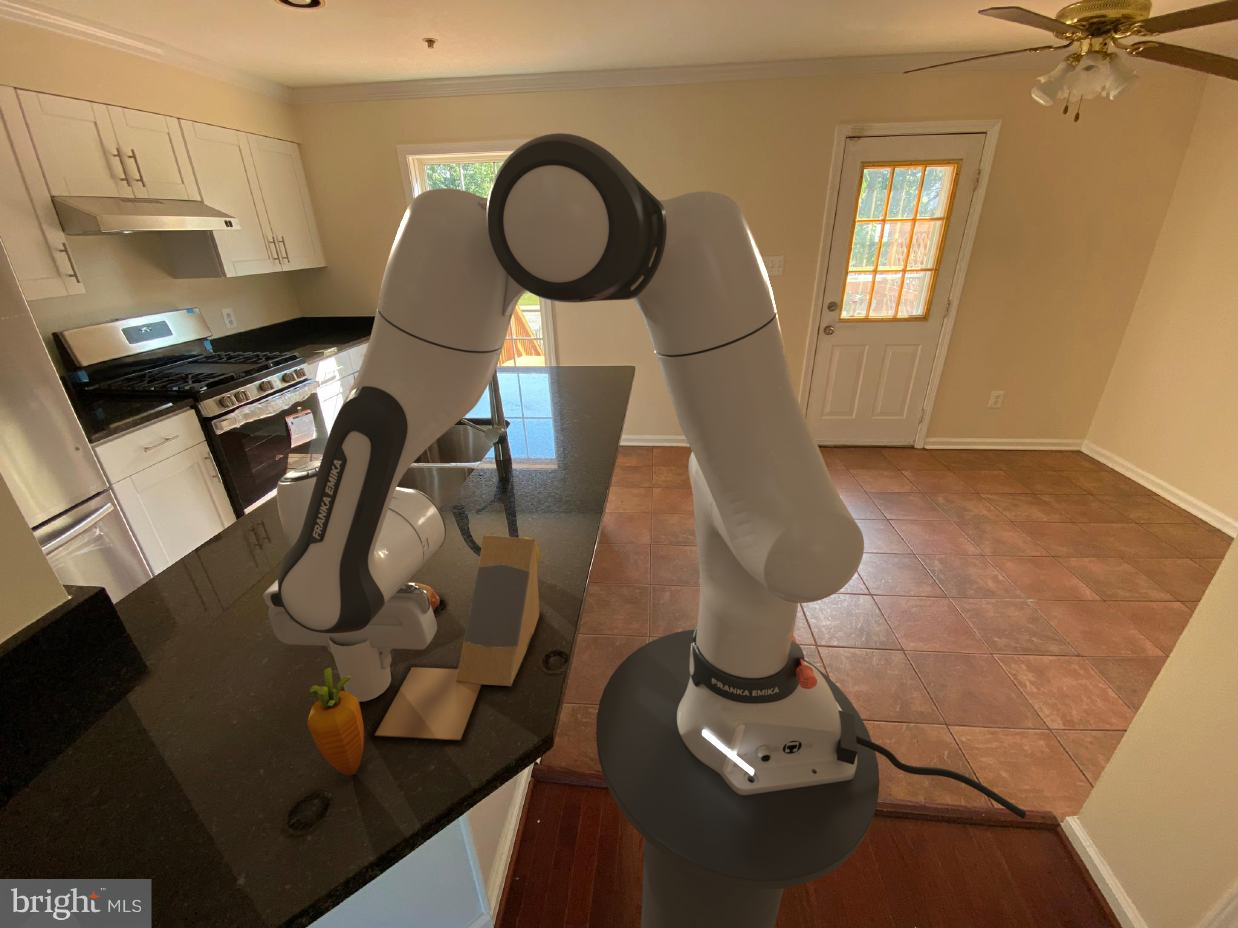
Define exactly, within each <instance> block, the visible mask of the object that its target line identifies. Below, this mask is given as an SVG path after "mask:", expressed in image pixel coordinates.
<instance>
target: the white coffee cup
mask: <svg viewBox="0 0 1238 928" xmlns="http://www.w3.org/2000/svg"><path fill="white" fill-rule="evenodd" d="M328 641H329V645H330V648H331V651H332V653H331V655H332V656H333V660H334V663H335V665H336V669H337V671H338V675H339V677H340V681H341V680H342V679H343V678H344V677H346V676H347V675H348V676H350V677H351V679H349V680H348V681H347V682H346V683H345V684H344V685H343V687H342V688H343V691H347V692H348V693H350V694H352V695H353V696H355V697H356V698H357V699H358V702H359V703H360V702H367V701H370V700H373V699H376V698H377V697H379V696H380V695H382V694H383V693H385V692H386V690H387V689H388V688H389V687H390V685H391V682H392V675H391V667H390V666H391V665H389V667H388V669H386V670H385V669H381V663H380V657H381V655H382V653H383V651H382V652H378V648H371V646H370V640H367V641H365V642H363V643H360V644H357V645H354V646H339V645H336V644H334V643H333V642H332V641H330V638H329V637H328Z"/></svg>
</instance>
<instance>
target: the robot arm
mask: <svg viewBox="0 0 1238 928" xmlns="http://www.w3.org/2000/svg"><path fill="white" fill-rule="evenodd" d="M526 292H528V293H530V294H532V295H534V296H536V297H538V298H541V299H544V300H547V301H552V302H558V303H571V304H572V303H573V304H574V303H590V302H601V301H603V302H604V301H627V300H628V301H629V300H633V301H634V302H635V303H636V306H637V307H638V309H639V311H640V313H641V316H642V317H643V320H644V322H645V325H646V329H647V331H648V334H649V338H650V340H651V342H652V347H653V349H654V353H655V356H656V359H657V362H658V364H659V367H660V371H661V374H662V377H663V379H664V382H665V385H666V389H667V391H668V394H669V397H670V401H671V403H672V406H673V409H674V412H675V415H676V417H677V421H678V425H679V427H680V429H681V431H682V433H683V435H684V437H685V439H686V441H687V443H688V445H689V447H690V450H691V454H690V456H689V460H688V467H687V469H688V477H689V481H690V486H691V492H692V500H693V511H694V530H695V531H694V532H695V541H696V551H697V559H698V560H697V561H698V570H699V571H698V573H699V600H698V612H697V613H698V614H697V625H696V627H695V628H694V630H695V631H694V634H693V640H692V644H691V651H690V665H689V669H690V674H691V676H690V680H689V683H688V686H687V689H686V692H685V694H684V696H683V698H682V700H681V702H680V704H679V707H678V710H677V725H678V729H679V733H680V735H681V737H682V739H683V741H684V743H685V745H686V746H687V747H688V749H689V750H690V751H691V752H692V753H693V754H694V756H696V757H697V758H698V759H699V760H700V761H701V762H703V763H704V764H706V765H707V766H709V767H710V768H712V769H713V770H715V771H716V772H718V773H719V774H720V775H721V776H722V778H723V779H724V780H725V782H726V783H727V784H728V785H729V786H730V788H731V789H732V790H733V791H735V792H736V793H737V794H739V795H751V794H758V793H765V792H772V791H779V790H786V789H793V788H800V787H806V786H813V785H820V784H827V783H834V782H841V781H847V780H851V779H853V778H854V776H855V773H856V768H857V743H858V744H860V745H862V746H865V747H867V748H870V749H872V750H874V751H875V753H878V754H880V755H881V756H883V757H885V758H886V759H887V760H888V761H889V762H890V763H891V765H892V766H893V767H895V768H896V769H898V770H900V771H902V772H905V773H908V774H911V775H916V776H933V777H934V776H935V777H942V778H943V777H944V778H948V779H951V780H955V781H957V782H959V783H962V784H964V785H967V786H969V787H971V788H972V789H974V790H976V791H977V792H979V793H981V794H983V795H984V796H986V797H988V798H989V799H991V800H992V801H994V802H995V803H997V804H999V805H1000V806H1001V807H1003V808H1005V809H1006V810H1008V811H1009V812H1011V813H1013V814H1014V815H1016V816H1017V817H1019V818H1021V819H1022V820H1025V818H1026V816H1027V811H1025V810H1024V809H1023V808H1020V807H1019V806H1017V805H1016V804H1014V803H1012V802H1011V801H1009V800H1008V799H1006V798H1004V797H1003V796H1002V795H1000V794H998V793H997V792H996V791H994V790H992V789H990V788H989V787H987V786H986V785H984V784H982V783H980V782H979V781H977V780H975V779H973V778H970V777H969V776H967V775H964V774H962V773H960V772H957V771H954V770H951V769H947V768H942V767H932V766H915V765H909V764H906V763H903V762H901V761H900V760H899V759H898V758H897V756H895V755H894V753H892V752H891V751H890V750H888V749H887V748H885V747H884V746H882V745H880V744H878V743H876V742H873V741H872V742H871V741H869V740H866V739H864V738H861V737H859V736H857V735H856V730H855V719H854V714H851V713H847V712H844V711H842V710H841V708H840V706H839V705H838V703H837V702H836V700H835V698H834V696H833V694H832V692H831V689H830V688H829V686H828V684H827V682H826V681H825V679H824V678H823V676H822V675H821V674H820V673H819V671H818V670H817V669H815V668H814V667H813V666H811V665H809V664H807V663H806V662H804V659H805V654H804V651H803V649H802V647H801V645H799V644H798V642H797V640H796V636H795V635H794V631H795V626H796V622H797V616H798V612H799V611H798V610H799V604H809V603H815V602H818V601H822V600H824V599H827V598H829V597H832V596H833V595H835V594H837V593H838V592H839V591H841V590H842V589H843V588H844V587H846V586H847V585H848V583H849V582H850V581H851V580H852V579H853V578H854V576H855V575H856V573H857V572H858V570H859V568H860V565H861V562H862V560H863V557H864V552H865V539H864V535H863V532H862V530H861V528H860V527H859V524H858V523H857V522H856V520H855V519H854V517H853V515H852V514H851V512H850V510H848V507H847V506H846V504H845V502H844V500H843V499H842V497H841V495H840V494H839V492H838V490H837V487H836V485H835V483H834V481H833V479H832V476H831V474H830V471H829V469H828V467H827V465H826V461H825V459H824V457H823V454H822V453H821V450H820V447H819V445H818V443H817V441H816V439H815V436H814V434H813V432H812V430H811V427H810V424H809V423H808V421H807V419H806V416H805V414H804V412H803V409H802V407H801V405H800V402H799V399H798V396H797V392H796V390H795V387H794V384H793V379H792V375H791V370H790V369H791V368H790V365H789V361H788V356H787V352H786V347H785V344H784V343H785V342H784V338H783V334H782V330H781V325H780V321H779V316H778V311H777V306H776V303H775V298H774V293H773V289H772V287H771V283H770V280H769V276H768V272H767V269H766V266H765V263H764V260H763V257H762V255H761V251H760V249H759V246H758V244H757V242H756V239H755V237H754V234H753V232H752V229H751V227H750V224H749V223H748V221H747V218H746V216H745V213H744V212H743V210H742V209H741V207H740V206H739V204H738V203H737V202H736V201H735V200H734V199H733V198H732V197H729V196H728V195H726V194H723V193H720V192H715V191H705V190H701V191H691V192H687V193H683V194H681V195H677V196H674V197H672V198H668V199H658V198H656V196H654V194H653V193H652V192H651V191H650V190H649V189H647V188H646V186H645V185H644V184H642V182H640V181H639V180H638V179H637V178H636V177H635V176H634V175H633V174H632V172H630V170H629V169H628V168H627V167H626V166H625V165H624V163H623V162H622V161H621V160H620V159H619V158H618V157H617V156H616V155H615V154H613V153H612V152H610V151H609V150H608V149H606V148H605V147H604V146H602V145H600V144H598V143H596V142H594V141H592V140H590V139H588V138H586V137H583V136H580V135H577V134H572V133H565V132H564V133H563V132H561V133H559V132H557V133H550V134H549V133H548V134H544V135H540V136H537V137H535V138H533V139H530V140H528V141H526V142H525V143H523V144H522V145H520V146H518V147H517V148H516V149H515V150H513V152H511V153H510V154H509V156H507V158H506V159H505V160H504V161H503V163H502V164H501V166H500V167H499V169H498V170H497V172H496V174H495V175H494V178H493V180H492V182H491V185H490V189H489V192H488V195H487V197H484V196H480V195H479V194H476V193H473V192H472V191H471V192H470V191H467V190H463V189H459V188H453V187H452V188H451V187H439V188H433V189H428V190H424V191H423V192H421V193H419V194H418V195H417V196H416V197H414V198H413V199H412V200H411V201H410V203H409V205H407V208H406V211H405V213H404V215H403V218H402V220H401V222H400V225H399V227H398V229H397V232H396V236H395V238H394V240H393V243H392V246H391V249H390V253H389V255H388V259H387V262H386V266H385V269H384V273H383V277H382V281H381V285H380V290H379V295H378V300H377V307H376V311H375V317H374V321H373V325H372V329H371V334H370V337H369V341H368V344H367V346H366V350H365V353H364V356H363V359H362V362H361V364H360V367H359V369H358V372H357V374H356V377H355V379H354V381H353V383H352V385H351V387H350V389H349V391H348V394H347V395H346V397H345V399H344V400H343V403H342V404H341V407H340V409H339V410H338V413H337V414H336V417H335V419H334V421H333V424H332V427H331V429H330V432H329V435H328V437H327V440H326V444H325V447H324V451H323V453H322V457H321V458H320V459H316V460H314V461H310V462H307V463H304V464H302V465H300V466H298V467H296V468H293V469H292V470H290V471H289V472H287V473H285V474H284V475H283V476H282V477H281V478H280V479H279V480H278V482H277V485H276V486H277V487H276V503H277V509H278V514H279V519H280V523H281V526H282V530H283V534H284V537H285V540H286V543H287V545H288V547H289V550H287V552H285V554H284V555H283V557H282V558H281V560H280V564H279V568H278V575H277V579H276V580H275V581H274V582H273V583H272V584H271V585H270V586H269V587H268V588H267V590H265V592H264V593H263V594H262V599H263V602H264V603H265V605H266V606H267V607H268V609H267V615H268V620H269V623H270V627H271V630H272V632H273V635H274V637H275V639H277V640H278V641H279V642H281V643H282V644H284V645H286V646H310V647H311V646H314V647H326V649H327V651H328V652H329V653H331V654H332V651H331V648H330V645H329V641H328V637H329V638H330V641H332V642H333V643H334V644H336V645H339V646H354V645H357V644H360V643H363V642H365V641H367V640H370V646H371V648H378V652H382V651H383V653H382V655H381V657H380V663H381V669H385V670H386V669H388V667H389V666H391V664H392V662H393V661H392V660H393V659H392V655H391V651H392V650H416V651H417V650H418V651H421V650H425V649H426V648H427V647H428V646H429V645H430V644H431V642H432V641H433V639H434V637H435V635H436V633H437V630H438V624H437V623H438V622H437V619H436V617H435V613H434V610H432V607H431V605H430V600H429V595H428V593H427V591H425V590H423V589H421V588H419V587H416V585H415V584H413V583H406V582H409V581H410V580H411V578H413V577H414V576H415V574H417V572H419V571H420V570H421V568H423V566H424V565H426V564H427V562H428V561H430V560H431V558H432V557H433V556H434V555H435V554H436V553H437V552H438V551H439V550H440V549H441V547H443V545H444V543H445V539H446V535H447V527H446V522H445V518H444V515H443V513H442V511H441V510H440V508H439V506H438V505H437V504H436V502H435V501H434V500H433V499H432V498H431V497H430V496H429V495H427V494H425V493H424V492H422V491H421V490H418V489H415V488H411V487H406V486H398V485H399V483H400V482H401V480H402V478H403V476H405V474H406V472H407V471H408V469H409V468H410V467H411V466H412V465H413V463H414V462H415V461H416V460H417V459H418V458H419V457H420V456H421V455H422V454H423V453H424V452H425V451H426V450H427V449H428V448H429V447H430V446H431V445H433V444H434V443H435V442H436V441H437V440H438V439H440V437H442V436H443V435H444V434H445V433H446V432H447V431H448V430H450V429H451V428H452V427H454V426H455V425H456V424H457V423H459V422H460V421H461V420H462V419H463V418H464V417H466V416H467V415H468V414H469V413H470V412H471V411H473V409H474V408H476V406H477V405H478V403H479V402H480V400H481V398H482V397H483V395H484V393H485V391H486V390H487V388H488V387H489V384H490V382H491V381H492V379H493V376H494V374H495V372H496V370H497V367H498V364H499V362H500V358H501V355H502V351H503V347H504V344H505V342H506V338H507V334H508V331H509V327H510V324H511V320H512V317H513V314H514V312H515V310H516V307H517V306H518V303H519V301H520V299H521V298H522V296H523V295H524V294H525V293H526ZM748 780H752V781H753V782H754V783H750V782H749V781H748Z"/></svg>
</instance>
